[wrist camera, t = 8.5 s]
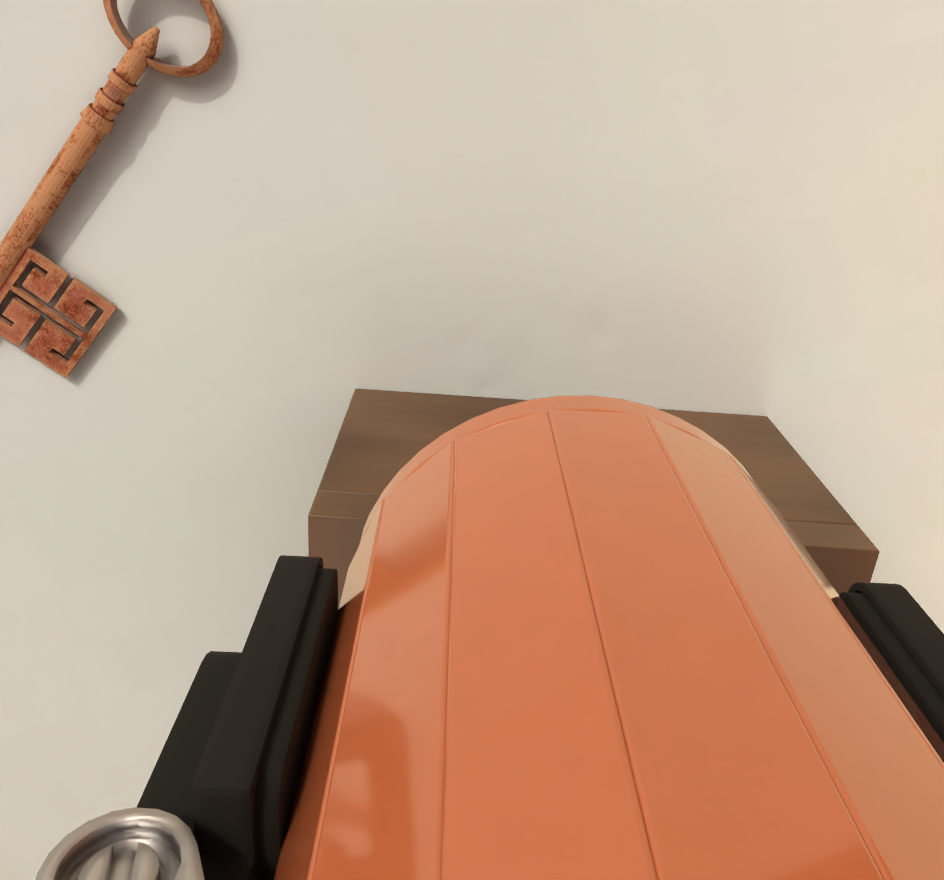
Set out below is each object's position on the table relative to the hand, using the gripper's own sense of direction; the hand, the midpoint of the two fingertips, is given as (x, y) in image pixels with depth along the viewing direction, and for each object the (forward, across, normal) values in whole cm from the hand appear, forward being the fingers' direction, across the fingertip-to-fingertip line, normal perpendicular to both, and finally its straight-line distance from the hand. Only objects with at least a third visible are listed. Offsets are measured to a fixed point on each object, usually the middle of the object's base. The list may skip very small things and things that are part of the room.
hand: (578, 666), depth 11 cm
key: (+21, +14, -3) cm, 26 cm away
